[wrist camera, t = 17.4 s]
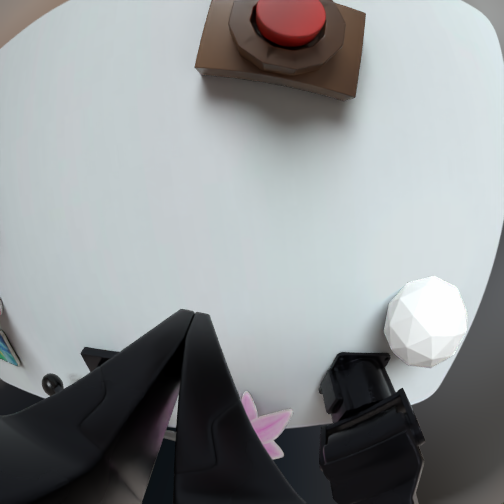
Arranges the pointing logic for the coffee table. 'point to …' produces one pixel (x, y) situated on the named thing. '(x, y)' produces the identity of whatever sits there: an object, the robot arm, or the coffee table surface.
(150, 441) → the robot arm
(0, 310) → the pill bottle
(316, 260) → the coffee table surface
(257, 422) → the lily
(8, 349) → the smartphone
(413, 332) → the geometric ball
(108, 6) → the coffee table surface
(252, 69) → the button block
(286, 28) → the button
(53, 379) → the lever
